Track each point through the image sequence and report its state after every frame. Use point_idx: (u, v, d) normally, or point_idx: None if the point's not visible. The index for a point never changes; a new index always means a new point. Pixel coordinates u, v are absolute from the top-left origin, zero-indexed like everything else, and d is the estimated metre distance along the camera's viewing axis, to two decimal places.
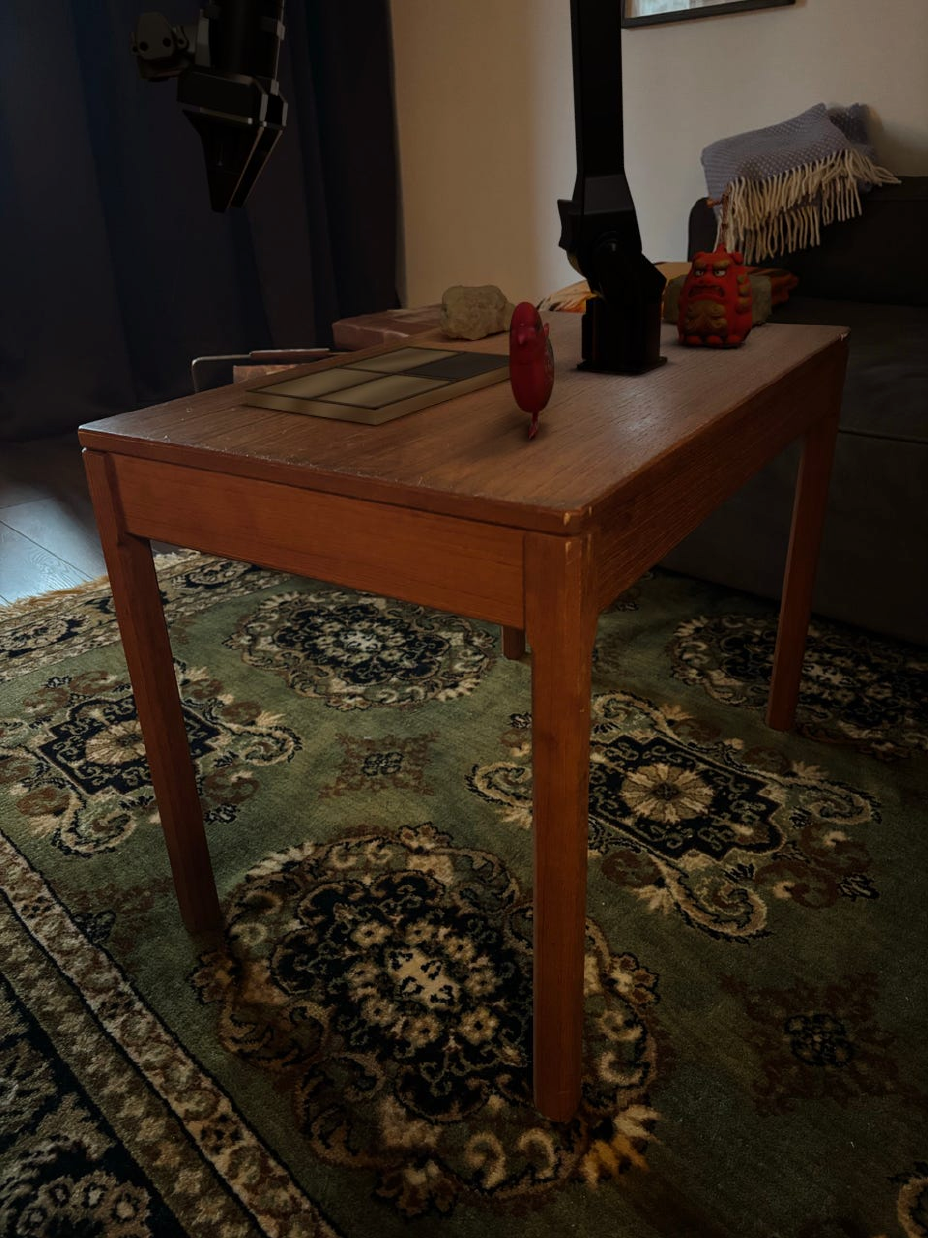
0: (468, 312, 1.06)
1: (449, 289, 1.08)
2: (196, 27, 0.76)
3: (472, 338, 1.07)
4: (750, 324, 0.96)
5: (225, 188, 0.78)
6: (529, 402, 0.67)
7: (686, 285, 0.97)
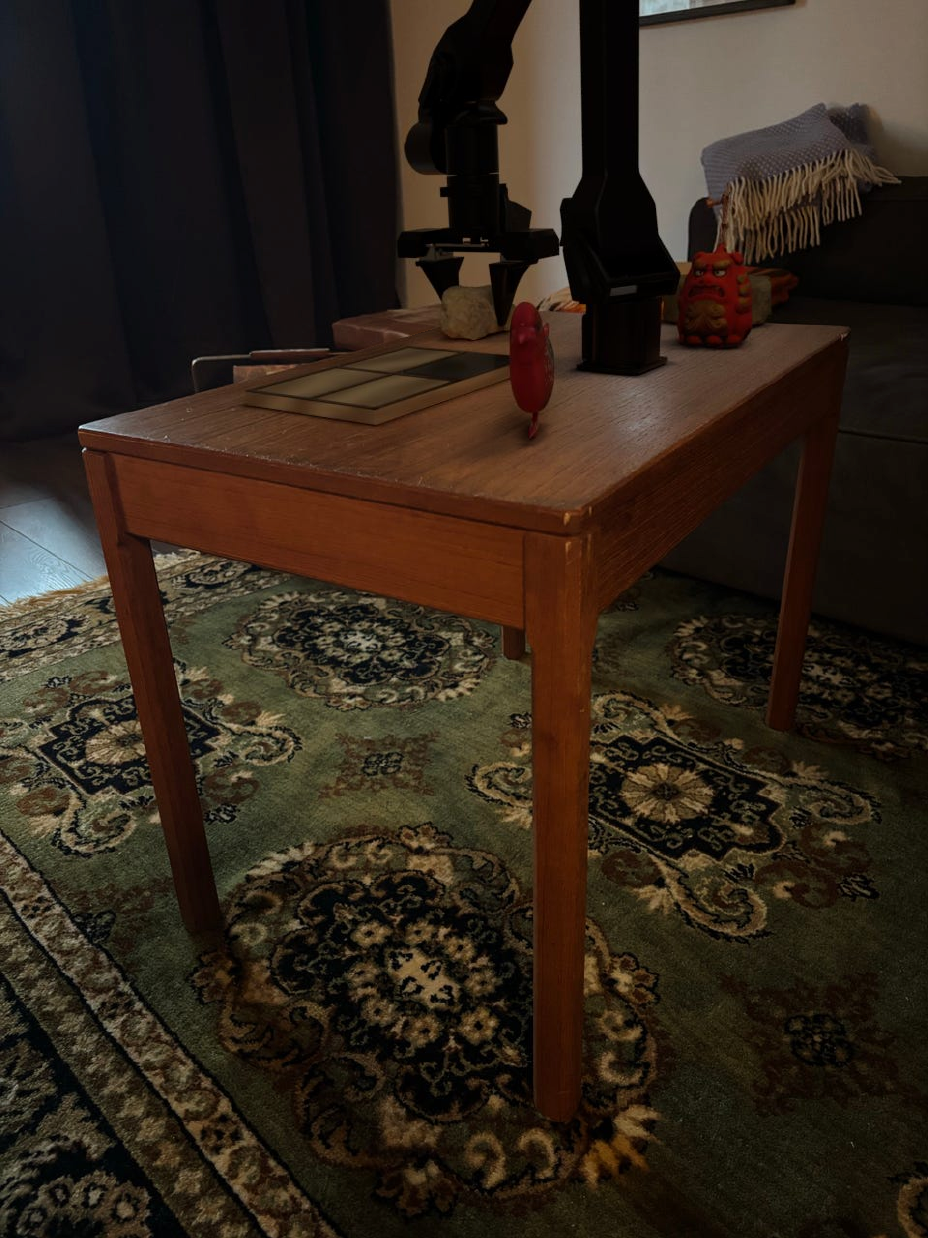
0: (468, 312, 1.06)
1: (449, 289, 1.08)
2: None
3: (472, 338, 1.07)
4: (750, 324, 0.96)
5: None
6: (529, 402, 0.67)
7: (686, 285, 0.97)
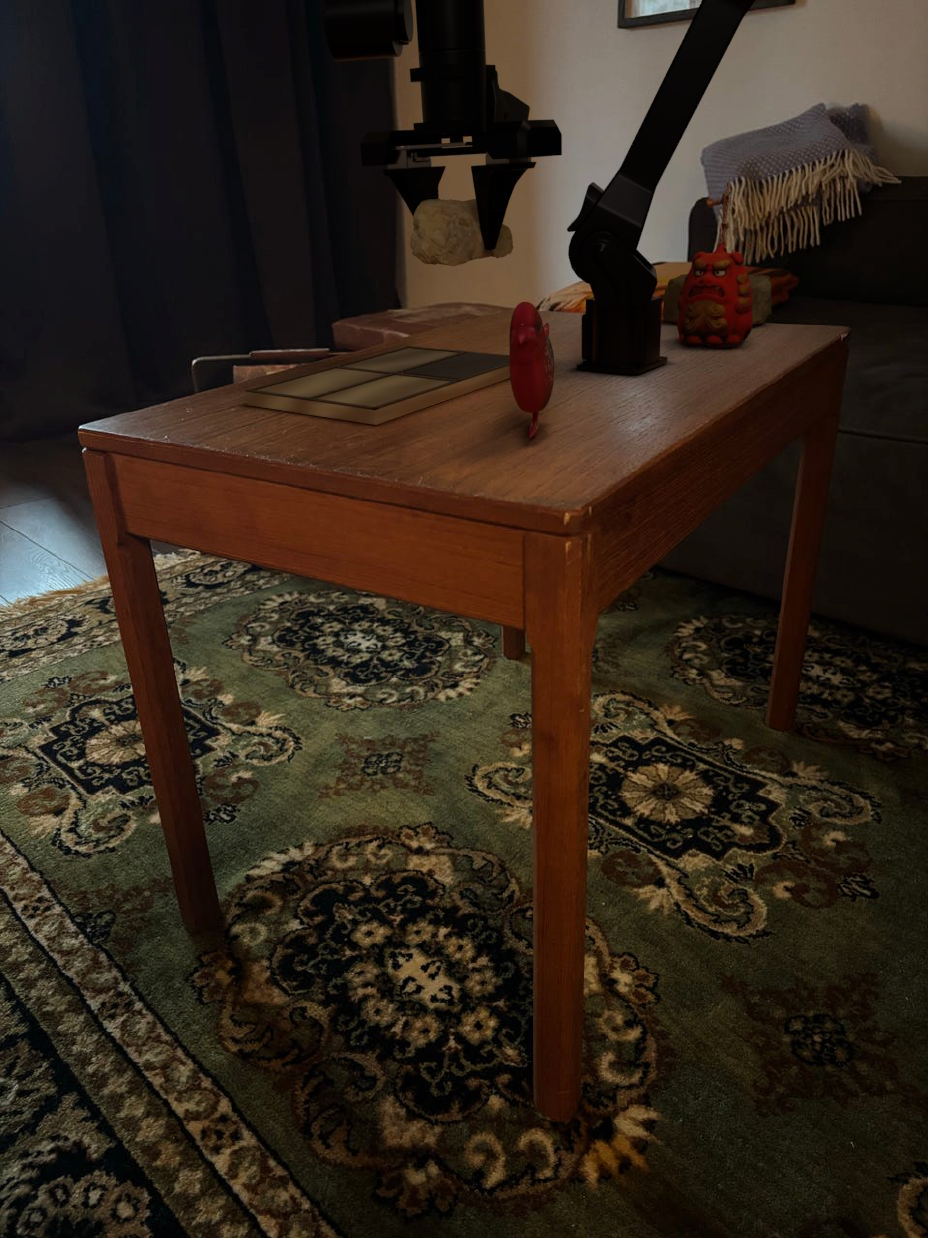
0: (446, 229, 0.84)
1: (423, 202, 0.85)
2: None
3: (451, 264, 0.85)
4: (750, 324, 0.96)
5: None
6: (529, 402, 0.67)
7: (686, 285, 0.97)
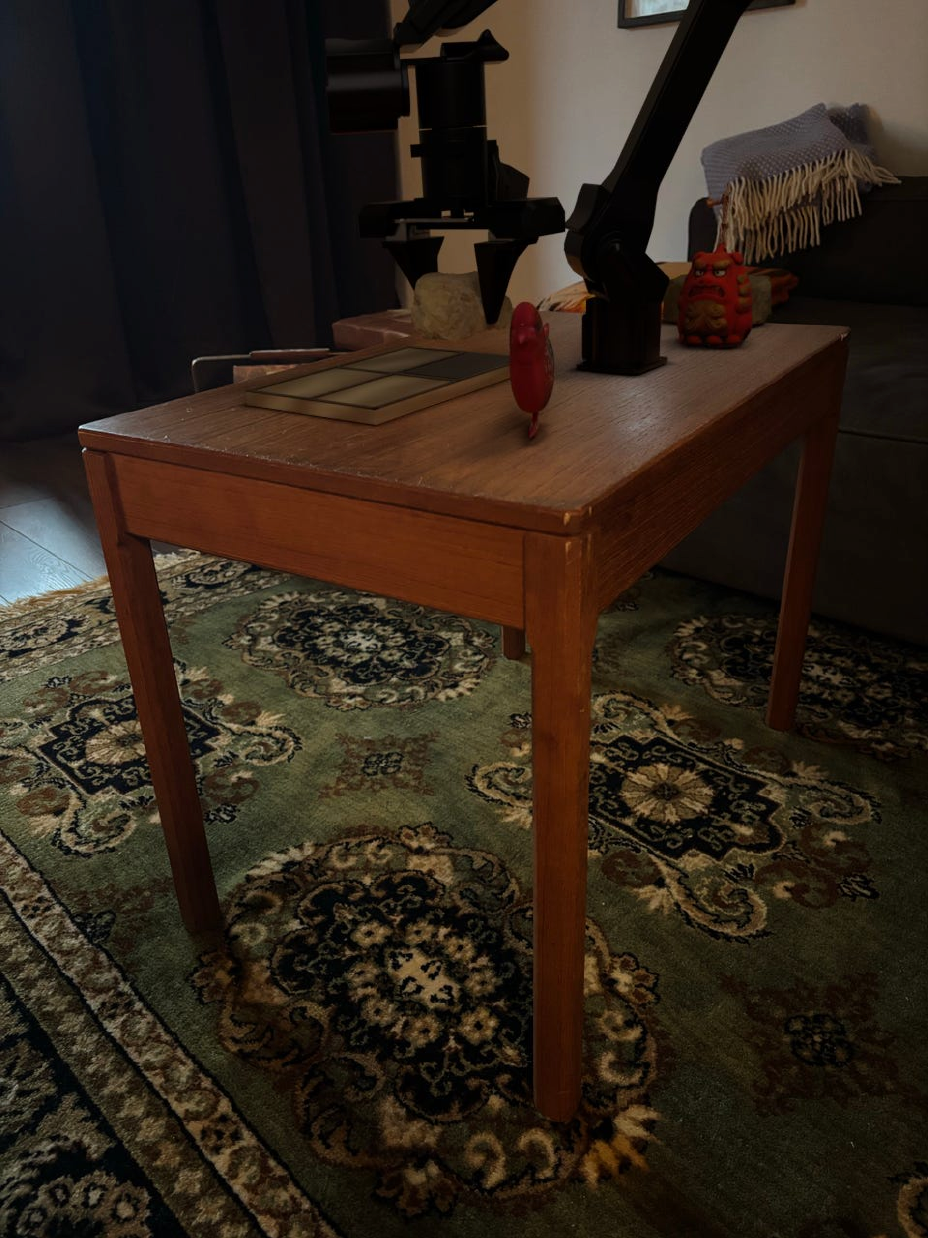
0: (448, 306, 0.82)
1: (423, 277, 0.84)
2: None
3: (453, 339, 0.84)
4: (750, 324, 0.96)
5: None
6: (529, 402, 0.67)
7: (686, 285, 0.97)
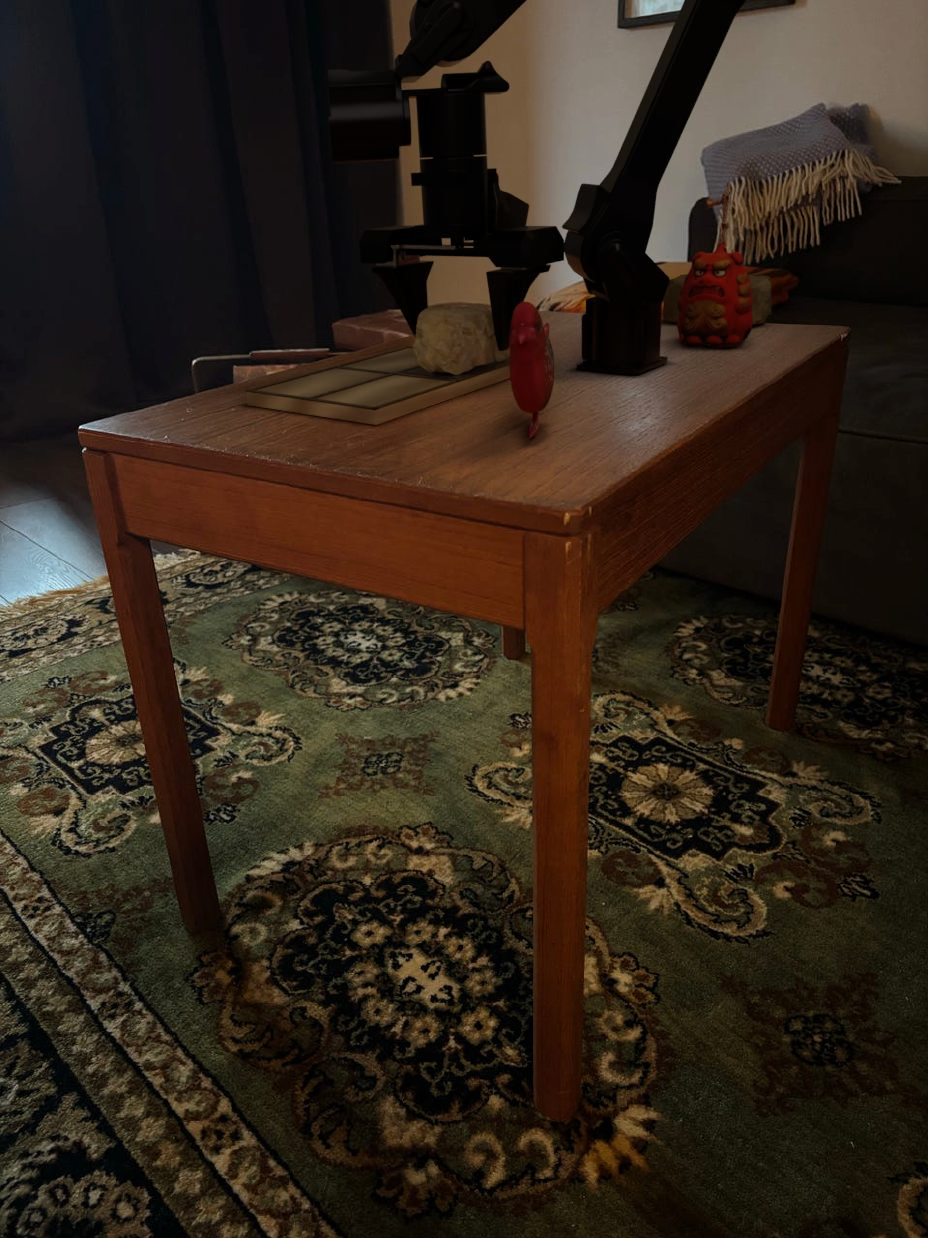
0: (450, 340, 0.84)
1: (426, 310, 0.85)
2: None
3: (455, 372, 0.85)
4: (750, 324, 0.96)
5: None
6: (529, 402, 0.67)
7: (686, 285, 0.97)
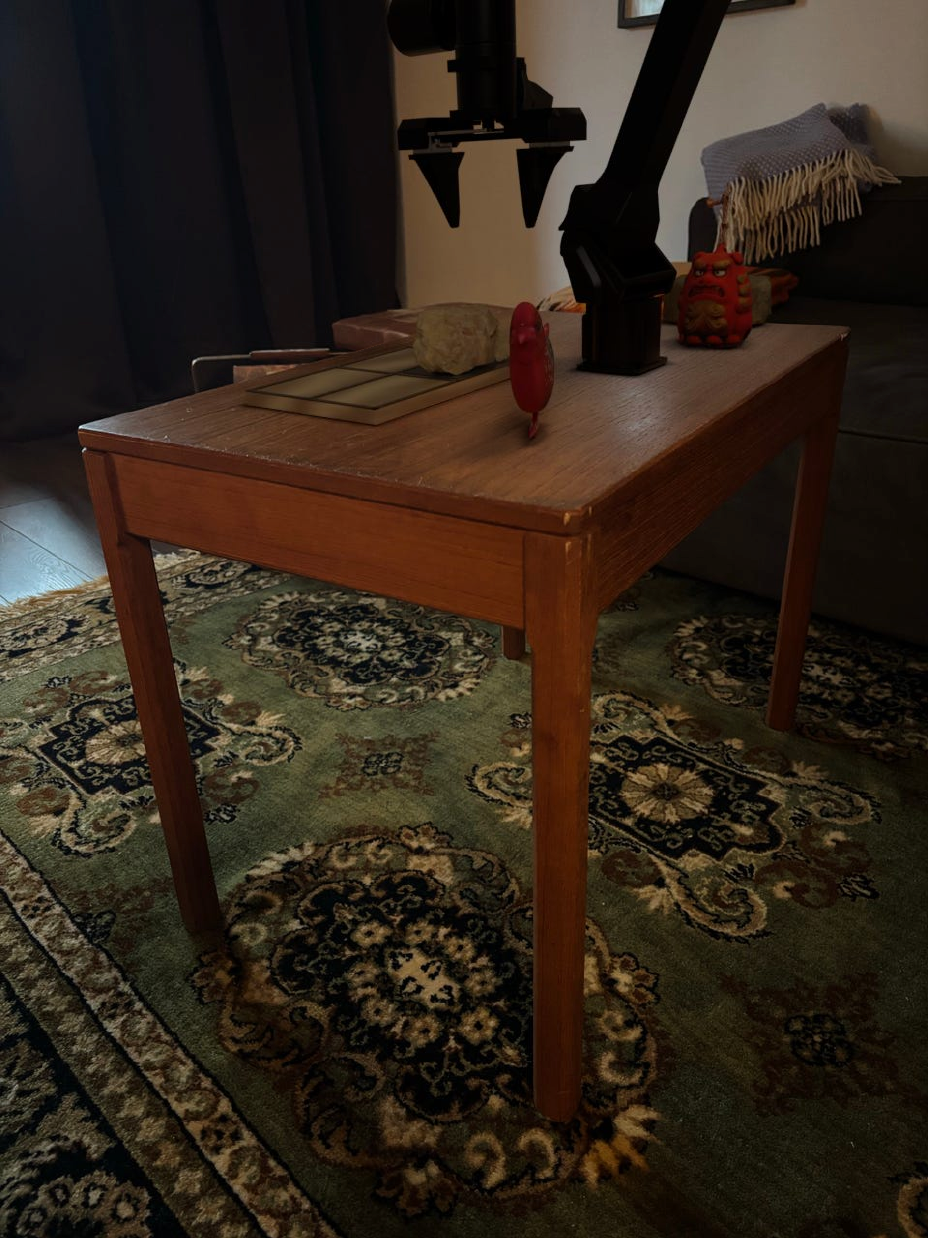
0: (450, 340, 0.84)
1: (426, 310, 0.85)
2: None
3: (455, 372, 0.85)
4: (750, 324, 0.96)
5: None
6: (529, 402, 0.67)
7: (686, 285, 0.97)
